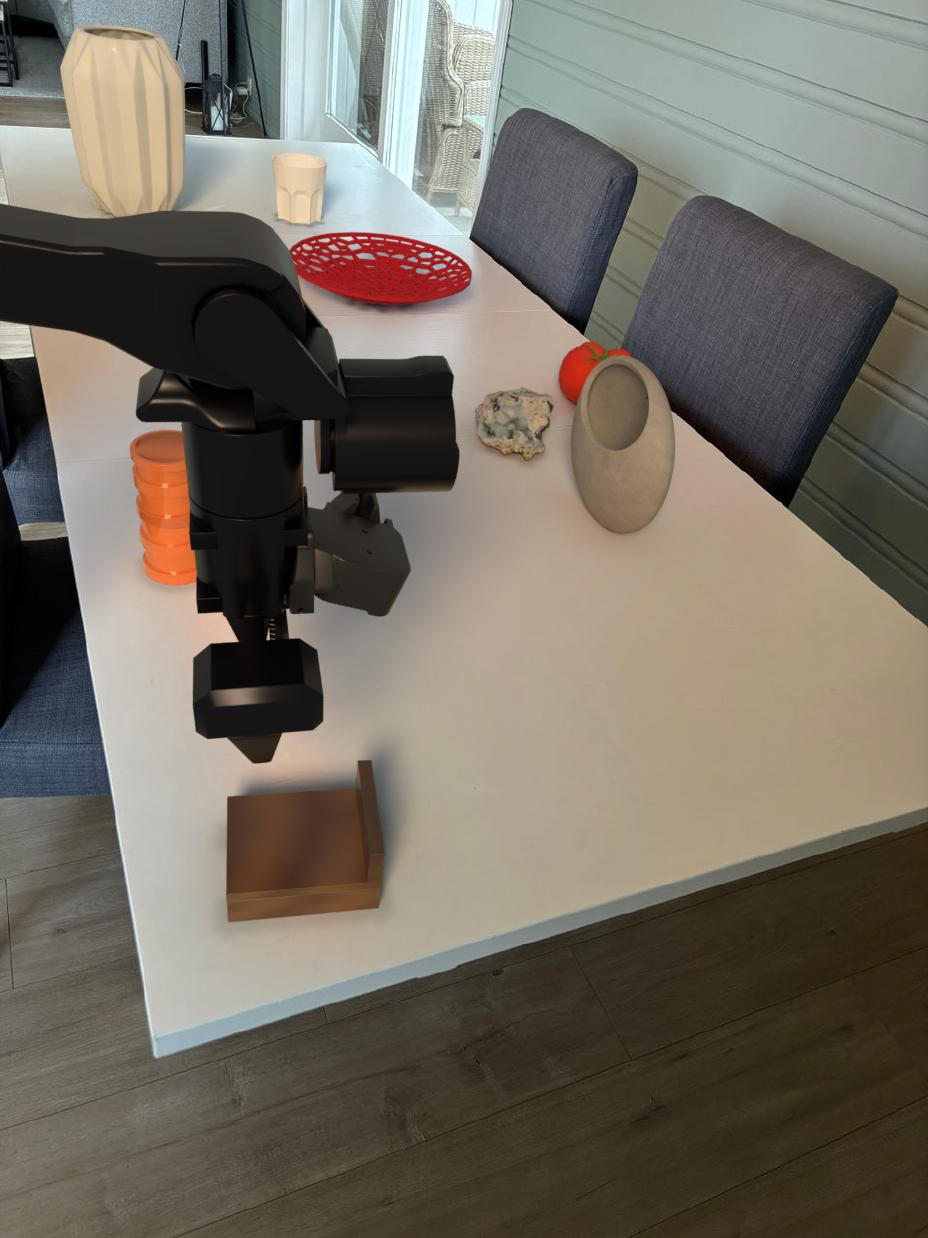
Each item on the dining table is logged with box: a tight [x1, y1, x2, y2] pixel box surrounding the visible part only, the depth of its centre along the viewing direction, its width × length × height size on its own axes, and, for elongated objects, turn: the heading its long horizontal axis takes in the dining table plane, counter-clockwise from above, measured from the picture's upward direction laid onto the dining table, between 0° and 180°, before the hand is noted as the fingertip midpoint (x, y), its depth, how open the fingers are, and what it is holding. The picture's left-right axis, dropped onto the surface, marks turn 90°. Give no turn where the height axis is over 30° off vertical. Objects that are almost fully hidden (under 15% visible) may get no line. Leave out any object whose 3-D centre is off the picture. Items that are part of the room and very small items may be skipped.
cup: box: [271, 152, 328, 225], centre depth 170 cm, size 10×10×10 cm
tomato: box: [558, 341, 632, 405], centre depth 125 cm, size 11×11×8 cm
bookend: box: [225, 759, 386, 923], centre depth 62 cm, size 10×8×6 cm
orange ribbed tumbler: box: [129, 429, 197, 586], centre depth 84 cm, size 6×6×13 cm
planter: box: [570, 355, 676, 535], centre depth 98 cm, size 18×7×19 cm, turn 20°
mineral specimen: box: [474, 386, 556, 461], centre depth 114 cm, size 10×8×10 cm
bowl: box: [289, 231, 473, 306], centre depth 147 cm, size 29×30×5 cm
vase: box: [59, 24, 186, 218], centre depth 156 cm, size 20×20×27 cm
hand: (258, 704), depth 56 cm, fingers open, 9 cm apart
